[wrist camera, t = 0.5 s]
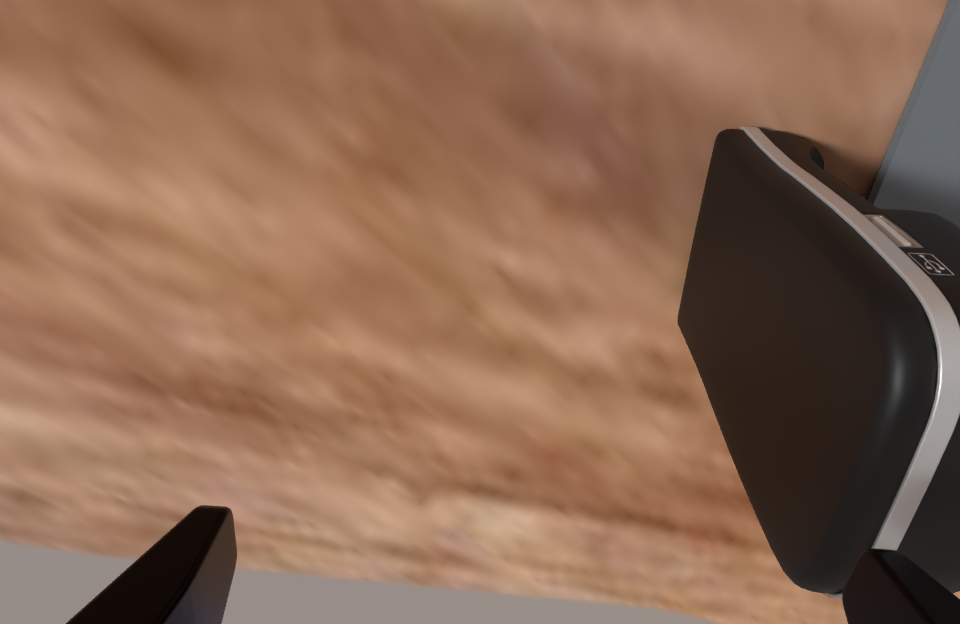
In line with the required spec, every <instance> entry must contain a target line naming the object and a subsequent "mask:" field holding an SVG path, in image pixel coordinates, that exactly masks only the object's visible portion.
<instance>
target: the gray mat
mask: <svg viewBox="0 0 960 624" xmlns="http://www.w3.org/2000/svg"><path fill="white" fill-rule="evenodd" d="M867 201H869V202H870V203H872V204H873V205H874V206H876V207H877V208H878V209H896V210H914V211H921V212H927V213H934V214H937V215H939V216H941V217H943V218H945V219H947V220H949V221H951V222H952V223H954V224H955V225H957V226H958V227H960V0H949V2H948V4H947V7H946V9H945V12H944V14H943V16H942V19H941V21H940V24H939V26H938V29H937V31H936V33H935V36H934V38H933V41H932V43H931V46H930V48H929V50H928V53H927V55H926V58H925V60H924V63H923V65H922V67H921V70H920V72H919V75H918V77H917V80H916V82H915V84H914V87H913V89H912V92H911V94H910V97H909V99H908V101H907V104H906V106H905V109H904V111H903V114H902V116H901V118H900V121H899V123H898V126H897V128H896V131H895V133H894V135H893V138H892V140H891V143H890V145H889V148H888V150H887V152H886V155H885V157H884V160H883V162H882V165H881V167H880V169H879V172H878V174H877V177H876V179H875V182H874V184H873V186H872V189H871V191H870V194H869V196H868V199H867Z"/></svg>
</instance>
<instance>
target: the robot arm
mask: <svg viewBox="0 0 960 624" xmlns="http://www.w3.org/2000/svg"><path fill="white" fill-rule="evenodd" d="M236 559H237V547H236V538H235V529H234V521H233V514H232V511H231V509H229V508H227V507H221V506H206V505H202V506H199V507H197V508H195V509H194V510H192V511H191V512H190V513H189V514H188V515H187V516H186V517H185V518H183V519H182V520H181V521H180V522H179V523H178V524H177V525H176V526H174V527H173V528H172V529H171V530H170V531H169V532H168V533H167V534H165V535H164V536H163V537H162V538H161V539H160V540H159V541H158V542H157V543H155V544H154V545H153V546H152V547H151V548H150V549H149V550H148V551H146V552H145V553H144V554H143V555H142V556H141V557H140V558H139V559H138V560H136V561H135V562H134V563H133V564H132V565H131V566H130V567H129V568H127V569H126V570H125V571H124V572H123V573H122V574H121V575H120V576H118V577H117V578H116V579H115V580H114V581H113V582H112V583H111V584H110V585H108V586H107V587H106V588H105V589H104V590H103V591H102V592H101V593H99V594H98V595H97V596H96V597H95V598H94V599H93V600H92V601H91V602H89V603H88V604H87V605H86V606H85V607H84V608H83V609H82V610H81V611H79V612H78V613H77V614H76V615H75V616H74V617H73V618H71V619H70V620H69V621H68V622H67V623H66V624H221V623H222V619H223V615H224V611H225V606H226V603H227V599H228V595H229V591H230V586H231V583H232V579H233V575H234V571H235V566H236ZM842 600H843V606H844V610H845V614H846V617H847V621H848V624H960V599H959V598H957V597H956V596H955V595H954V594H952V593H951V592H950V591H949V590H947V589H946V588H945V587H944V586H942V585H941V584H940V583H939V582H937V581H936V580H935V579H933V578H932V577H931V576H930V575H928V574H927V573H926V572H925V571H923V570H922V569H921V568H920V567H918V566H917V565H916V564H915V563H913V562H912V561H911V560H910V559H908V558H907V557H906V556H905V555H903V554H902V553H900V552H898V551H895V550H889V549H873V548H870V549H866V550H865V551H863V552H862V553H861V555H860V556H859V558H858V560H857V562H856V564H855V566H854V568H853V570H852V572H851V574H850V575H849V577H848V579H847V581H846V583H845V585H844V588H843V593H842Z"/></svg>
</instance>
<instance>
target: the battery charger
mask: <svg viewBox="0 0 960 624" xmlns="http://www.w3.org/2000/svg"><path fill="white" fill-rule="evenodd" d="M678 325H679V327H680V329H681V332H682V334H683V336H684V338H685V341H686V343H687V345H688V347H689V350H690V352H691V354H692V357H693V359H694V361H695V363H696V366H697V368H698V371H699V373H700V376H701V378H702V381H703V384H704V386H705V389H706V392H707V394H708V397H709V400H710V403H711V405H712V408H713V410H714V413H715V416H716V418H717V421H718V423H719V426H720V429H721V431H722V434H723V436H724V439H725V441H726V444H727V447H728V449H729V452H730V454H731V457H732V459H733V461H734V464H735V466H736V469H737V471H738V474H739V476H740V479H741V481H742V483H743V486H744V488H745V490H746V493H747V495H748V497H749V500H750V502H751V504H752V506H753V509H754V511H755V513H756V516H757V518H758V520H759V522H760V525H761V527H762V529H763V531H764V534H765V536H766V538H767V540H768V542H769V545H770V547H771V549H772V551H773V553H774V555H775V556H776V558H777V560H778V562H779V564H780V566H781V568H782V569H783V571H784V572H785V574H786V575H787V576H788V577H789V578H790V579H791V580H792V581H793V582H794V584H796V585H798V586H799V587H801V588H804V589H807V590H810V591H813V592H819V593H823V594H824V595H826V596H828V597H830V598H835V599H842V593H843V588H844V585H845V583H846V581H847V579H848V577H849V575H850V574H851V572H852V570H853V568H854V566H855V564H856V562H857V560H858V558H859V556H860V555H861V553H862V552H863V551H865V550H866V549H870V548H873V549H889V550H895V551H898V552H900V553H902V554H903V555H905V556H906V557H907V558H908V559H910V560H911V561H912V562H913V563H915V564H916V565H917V566H918V567H920V568H921V569H922V570H923V571H925V572H926V573H927V574H928V575H930V576H931V577H932V578H933V579H935V580H936V581H937V582H939V583H940V584H941V585H942V586H944V587H945V588H946V589H947V590H949V591H950V592H951V593H952V594H953V593H955V592H958V591H960V227H958V226H957V225H955V224H954V223H952V222H951V221H949V220H947V219H945V218H943V217H941V216H939V215H937V214H934V213H927V212H921V211H914V210H896V209H878V208H877V207H876V206H874V205H873V204H872V203H870V202H869V201H867V200H866V199H865V198H863V197H862V196H860V195H859V194H858V193H856V192H855V191H854V190H852V189H851V188H849V187H848V186H846V185H845V184H844V183H842V182H841V181H839V180H838V179H836V178H835V177H833V176H832V175H830V174H829V173H827V172H826V171H824V161H823V158H822V156H821V154H820V153H819V151H818V150H817V148H816V147H815V146H813V145H812V144H811V143H809V142H808V141H806V140H804V139H802V138H800V137H798V136H794V135H790V134H786V133H783V132H780V131H764V130H760V129H759V128H757V127H747V126H741V128H740V129H726V130H723V131H721V132H720V133H719V134H718V135H717V137H716V140H715V144H714V148H713V152H712V157H711V161H710V166H709V170H708V175H707V179H706V184H705V188H704V193H703V198H702V202H701V207H700V212H699V216H698V221H697V225H696V230H695V235H694V239H693V244H692V249H691V254H690V259H689V264H688V269H687V273H686V278H685V283H684V288H683V293H682V298H681V303H680V308H679V313H678Z"/></svg>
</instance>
